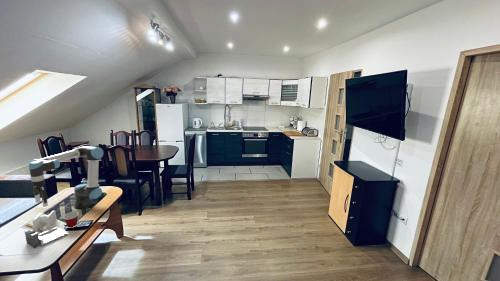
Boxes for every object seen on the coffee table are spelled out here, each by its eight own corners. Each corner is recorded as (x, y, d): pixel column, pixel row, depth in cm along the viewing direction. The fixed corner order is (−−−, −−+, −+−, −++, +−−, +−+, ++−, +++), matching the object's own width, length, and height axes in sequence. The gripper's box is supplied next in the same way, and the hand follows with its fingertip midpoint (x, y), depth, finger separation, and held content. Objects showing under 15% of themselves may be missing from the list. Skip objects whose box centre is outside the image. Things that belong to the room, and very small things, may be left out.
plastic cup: (64, 232, 178) (62, 219, 176) (64, 226, 186) (62, 214, 184) (80, 228, 185) (79, 215, 183) (80, 222, 193) (78, 210, 191)
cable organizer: (49, 230, 180) (47, 217, 178) (33, 232, 176) (31, 220, 174) (57, 220, 194) (55, 209, 192) (42, 222, 190) (40, 211, 188)
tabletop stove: (58, 228, 183) (56, 215, 181) (68, 234, 176) (67, 221, 174) (23, 242, 164) (21, 228, 161) (34, 250, 157) (32, 235, 155)
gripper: (25, 178, 172) (29, 202, 176) (38, 185, 161) (42, 210, 165) (37, 175, 178) (41, 198, 183) (51, 181, 168) (54, 206, 172)
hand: (41, 204), depth 174 cm, fingers open, 13 cm apart
